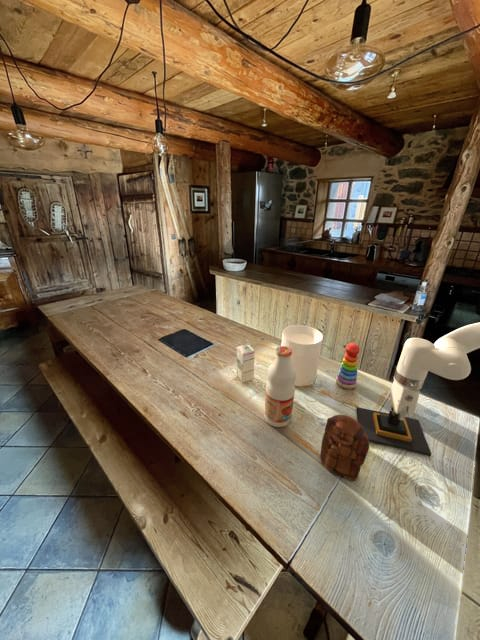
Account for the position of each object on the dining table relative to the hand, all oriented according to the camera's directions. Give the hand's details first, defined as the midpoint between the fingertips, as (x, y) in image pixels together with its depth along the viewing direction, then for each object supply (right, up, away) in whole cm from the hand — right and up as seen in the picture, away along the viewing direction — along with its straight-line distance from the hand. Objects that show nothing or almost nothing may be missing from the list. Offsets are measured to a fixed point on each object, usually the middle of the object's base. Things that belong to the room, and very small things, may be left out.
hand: (392, 422), depth 87 cm
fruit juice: (-37, -1, +6) cm, 38 cm away
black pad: (0, -2, +1) cm, 3 cm away
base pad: (0, -3, +2) cm, 4 cm away
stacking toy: (-6, +7, +23) cm, 25 cm away
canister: (-25, +10, +28) cm, 39 cm away
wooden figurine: (-22, -9, -10) cm, 26 cm away
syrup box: (-48, +9, +26) cm, 55 cm away
